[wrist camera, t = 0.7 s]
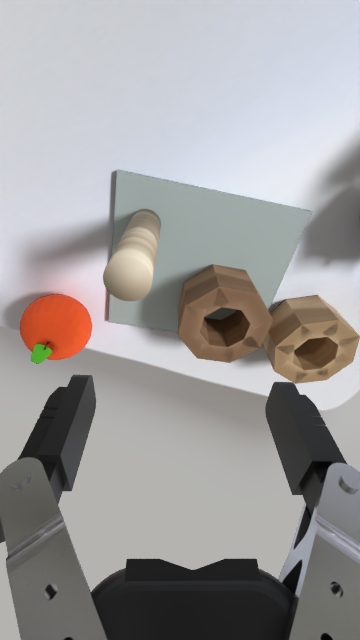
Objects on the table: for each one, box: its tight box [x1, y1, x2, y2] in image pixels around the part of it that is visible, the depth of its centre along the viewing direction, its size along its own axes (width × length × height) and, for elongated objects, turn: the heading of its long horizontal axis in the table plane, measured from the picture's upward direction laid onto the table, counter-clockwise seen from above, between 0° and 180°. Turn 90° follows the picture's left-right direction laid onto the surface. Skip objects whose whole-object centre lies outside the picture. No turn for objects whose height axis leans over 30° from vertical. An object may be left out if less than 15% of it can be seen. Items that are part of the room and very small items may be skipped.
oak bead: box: [263, 295, 360, 384], centre depth 31 cm, size 9×9×5 cm
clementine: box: [20, 294, 92, 364], centre depth 29 cm, size 8×7×7 cm
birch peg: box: [103, 209, 161, 301], centre depth 21 cm, size 3×3×12 cm
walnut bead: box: [178, 264, 273, 363], centre depth 29 cm, size 9×9×5 cm
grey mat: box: [108, 170, 312, 332], centre depth 29 cm, size 16×18×1 cm
